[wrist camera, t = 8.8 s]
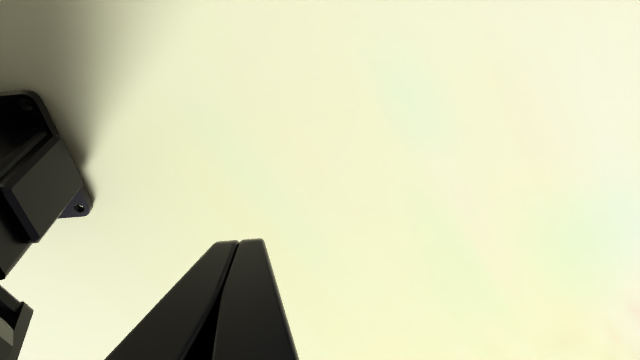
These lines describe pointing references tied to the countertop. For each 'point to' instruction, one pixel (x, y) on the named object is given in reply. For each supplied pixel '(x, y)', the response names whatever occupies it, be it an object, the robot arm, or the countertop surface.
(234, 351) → the robot arm
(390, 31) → the countertop surface
